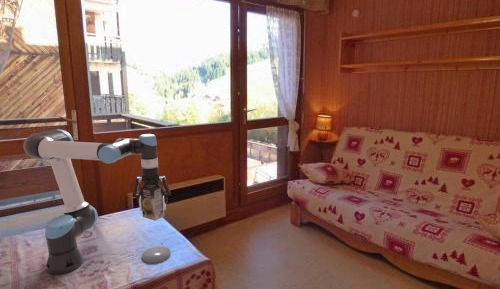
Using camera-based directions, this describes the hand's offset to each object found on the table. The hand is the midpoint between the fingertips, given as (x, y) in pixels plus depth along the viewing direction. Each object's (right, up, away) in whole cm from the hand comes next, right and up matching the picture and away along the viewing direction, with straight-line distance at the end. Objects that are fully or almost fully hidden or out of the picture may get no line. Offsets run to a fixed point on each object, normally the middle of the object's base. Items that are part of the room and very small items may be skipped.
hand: (153, 209), depth 146 cm
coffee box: (0, -4, +1) cm, 4 cm away
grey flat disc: (0, -25, +5) cm, 25 cm away
